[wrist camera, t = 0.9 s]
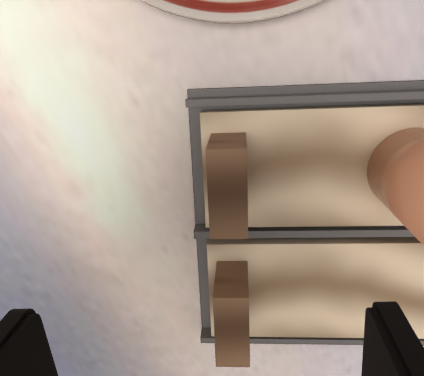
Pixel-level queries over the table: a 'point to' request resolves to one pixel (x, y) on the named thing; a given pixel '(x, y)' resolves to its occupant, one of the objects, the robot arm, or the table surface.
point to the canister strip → (295, 165)
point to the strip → (307, 288)
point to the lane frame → (284, 99)
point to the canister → (401, 177)
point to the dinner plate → (231, 9)
